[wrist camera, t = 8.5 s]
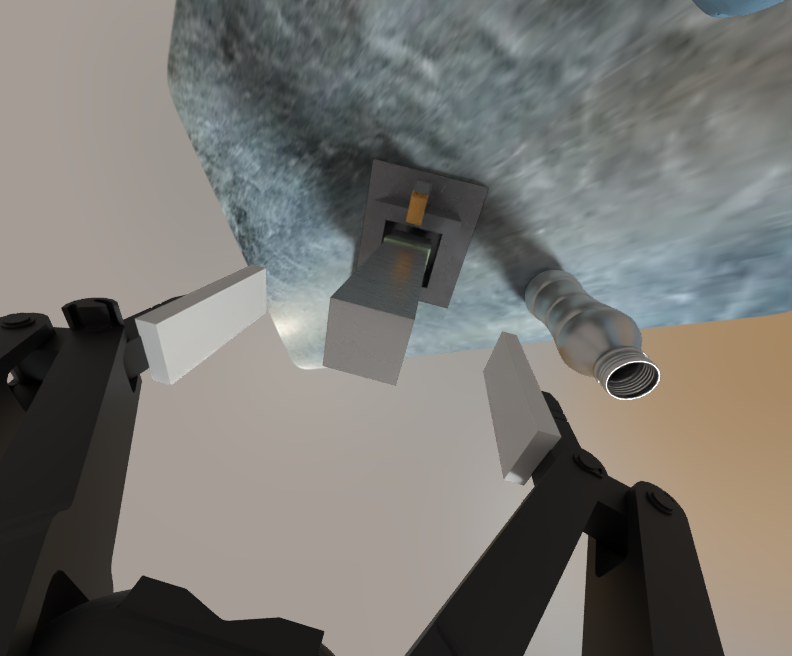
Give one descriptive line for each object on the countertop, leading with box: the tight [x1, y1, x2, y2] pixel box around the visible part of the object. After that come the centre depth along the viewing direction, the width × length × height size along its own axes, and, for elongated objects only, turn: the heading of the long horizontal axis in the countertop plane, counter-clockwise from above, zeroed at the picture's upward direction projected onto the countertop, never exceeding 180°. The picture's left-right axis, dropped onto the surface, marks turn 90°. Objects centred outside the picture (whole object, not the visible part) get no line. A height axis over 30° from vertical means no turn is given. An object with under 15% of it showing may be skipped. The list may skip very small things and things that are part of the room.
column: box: [323, 230, 431, 386], centre depth 23 cm, size 5×4×20 cm
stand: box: [356, 159, 489, 308], centre depth 33 cm, size 16×14×12 cm
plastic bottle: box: [525, 270, 661, 400], centre depth 30 cm, size 6×7×20 cm
